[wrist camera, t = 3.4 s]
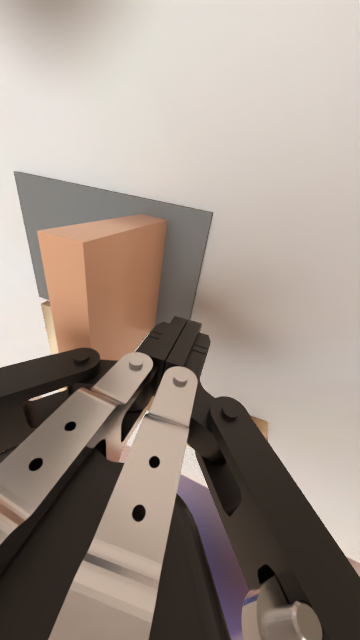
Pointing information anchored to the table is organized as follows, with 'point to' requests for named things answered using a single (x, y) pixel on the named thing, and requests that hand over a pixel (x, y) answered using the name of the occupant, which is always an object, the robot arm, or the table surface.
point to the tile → (104, 282)
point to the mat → (97, 204)
